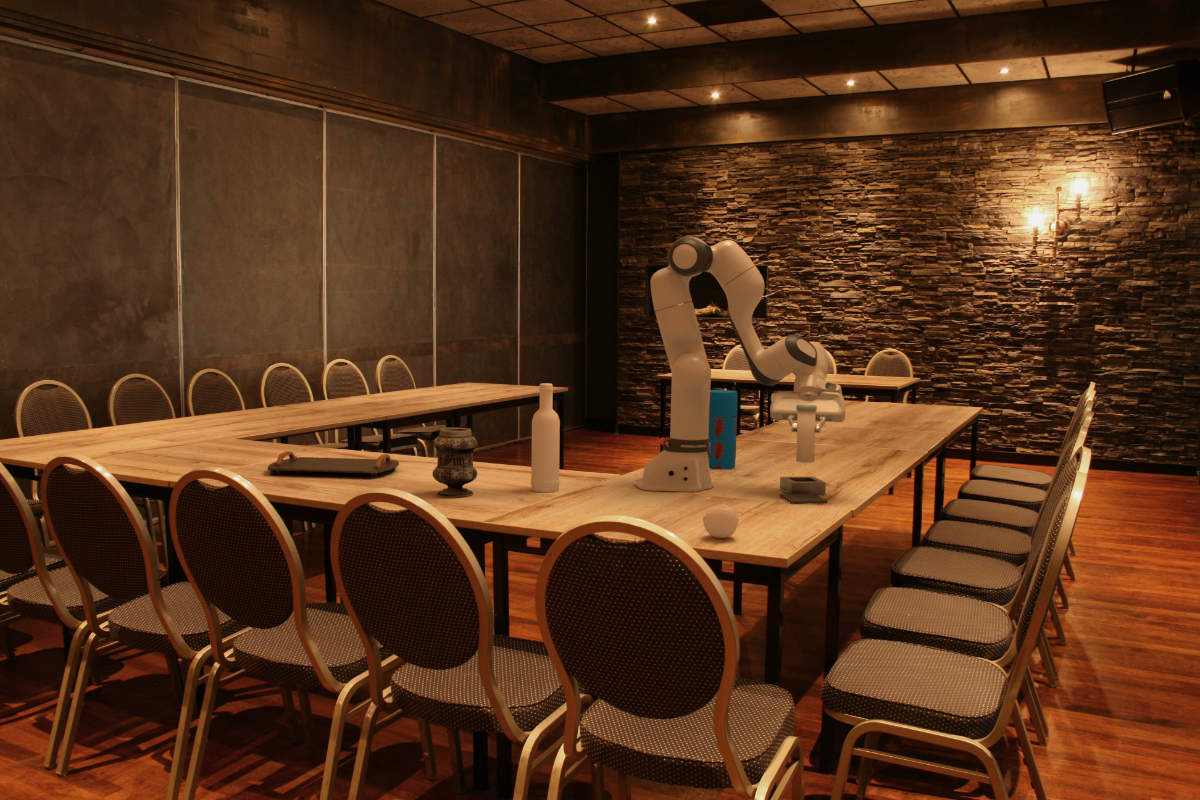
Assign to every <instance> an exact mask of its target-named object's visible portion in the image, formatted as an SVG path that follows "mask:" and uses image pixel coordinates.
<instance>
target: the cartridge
mask: <svg viewBox="0 0 1200 800" xmlns="http://www.w3.org/2000/svg"><path fill="white" fill-rule="evenodd" d="M796 410H797V421H796V423H797V432H796V457H795V458H796V462H798V463H815V447H816V433H815V424H816V421H815V414H816V410H817V406H816V405H796Z"/></svg>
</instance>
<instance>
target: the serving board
mask: <svg viewBox="0 0 1200 800" xmlns="http://www.w3.org/2000/svg"><path fill="white" fill-rule="evenodd" d="M286 457H288V458H286ZM284 458H285V459H284ZM399 465H400V463H399V460H396V459H393V458H391V456H390V454H389V453H384V454H380V455H379V456H378V457H377V459H375V458H355V457H353V458H350V457H349V458H347V457H316V456H315V457H313V456H312V457H310V456H296V455H295V453H294V452H293V451H288V450H287V451H283V452H281V453H280V454H279V455H278V457H277V460H276V461H274V462H272V463H271V464H270V463H269V464H268V466H267V471H269V475H270V476H272V477H273V476H278V471H280V472H281V471H283V472H284V471H285V472H286V471H287V472H310V473H311V472H314V473H315V472H317V473H320V472H321V473H346V474H347V473H351V474H354V473H355V474H370V476H369V478H370V479H374V480H377V479H378V477H379V476H378V474H379V473H384V472H387V471H391V470H395V469H396V468H397V467H399Z"/></svg>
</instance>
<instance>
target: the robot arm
mask: <svg viewBox="0 0 1200 800" xmlns="http://www.w3.org/2000/svg"><path fill="white" fill-rule="evenodd" d="M667 261H668V266H666V267H664V268H661V269H659V270H657V271H656V272H654V273H653V275H651V278H650V290H651V291H650V292H651V298H652V305H653V309H654V313H655V316H656V320H657V324H658V327H659V331H660V335H661V339H662V342H663V346H664V351H665V354H666V357H667V361H668V363H669V367H670V371H671V392H670V393H671V395H670V397H671V398H670V431H669V433H670V434H669V435H670V436H669V437H668V438H665V437H661V438H660V439H659V444H660V445H662V446H663V447H662V449H663V450H662V451H660V452H659V453H658V454H656V455H655V456H654V457H652V458H651V459H650V460H648V461H647V462H646V463H645V465H644V468H643V472H642V473H643V474H642V478H638V479H636V480H635V482H634V485H635V486H636V487H637V488H638V489H640V490H643V491H651V492H652V491H655V492H659V491H660V492H661V491H662V492H690V493H691V492H693V493H694V492H695V493H696V492H701V491H703V490H708V489H711V488H713V487H714V486H713V485H714V484H713V482H712V478H711V477H712V476H711V469H709V455H710V439H709V438H708V435H709V405H710V390H711V382H712V368H711V366H710V364H709V362H708V361H709V360H708V357H707V354H706V350H705V347H704V346H705V345H704V341H703V337H702V332H701V329H700V326H699V322H698V317H697V314H696V310H695V307H694V303H693V300H692V295H691V292H690V281H691V280H692V279H694V278H696V277H698V276H699V275H701V274H702V273H705V272H707V273H710V274H711V275H712V276H713V277H714V278H715V279H716V280H717V282H718V283H719V285H720V286H721V288H722V290H723V292H724V294H725V296H726V299H727V305H728V307H727V309H726V311H727V312H726V314H727V317H728V320H729V322H730V325H731V327H732V329H733V331H734V334H735V336H736V338H737V340H738V342H739V344H740V346H741V349H742V351H743V353H744V355H745V358H746V359H747V362H748V363H747V364H748V366H749V367H748V368H749V369H750V372H751V374H752V377H753V378H754V380H755V381H756V382H758V383H760V384H762V385H764V386H767V387H772V386H773V387H774V386H775V385H777V384H778V383H779V382H781V381H782V380H783V379H784V378H786V377H788V376H789V375H791V374H793V375H794V376H795V379H794V383H793V390H777V391H776V392H773V393H771V396H770V402H771V403H770V409H769V413H770V414H769V415H770V418H771V419H773V421H774V420H775V421H788V424H789V425H790V427H791V429H790V430H791V432H792V433H797V410H796V405H816V406H817V410H816V414H815V422H818V423H815V434H816V433H817V434H820V433H821V430H822V428H823V427H824V426H825V425H826V422H827V423H843V422H844V421H845V420H846V403H845V398H844V395H843V391H842V386H841V385H840V384H837V383H833V382H831V381H827V376H828V370H829V369H828V368H829V366H828V365H829V364H828V363H829V361H828V359H829V358H828V355H827V350H826V348H825V347H824V346H823V345H822V344H820V342H819V343H818V342H816V341H809V340H807V339H806V338H804V337H802V336H800V335H798V334H794V333H793V334H791V333H790V334H788V335H787V336H784V337H783V338H781V339H779V340H778V341H776V342H775V343H773V344H772V345H770V346H768V347H767V348H764V347H763V344H762V343H761V340H760V339H759V336H758V334H757V332H756V329H755V327H754V325H753V322H752V321H753V314H754V311H755V309H756V308H757V306H758V305H759V303H760V302H761V300H762V298H763V295H764V293H765V281H764V278H763V275H762V274H761V272H760V270H759V269H758V267H757V266H756V265H755V264H754V262H753V261H752V259H751V257H750V256H749V255H748V253H746V252H745V251H744V249H743V248H742V247H741V246H740V245H739V244H738V243H737V242H735V241H734V240H731V239H727V240H721V241H719V242H717V243H715V244H714V245H708V243H707V242H706V241H704V239H701V238H699V237H695V236H684V237H681V238H678V239H676V240H675V241H674V242H672V244H671V245H670V247H669V248H668V253H667ZM795 422H796V423H795Z"/></svg>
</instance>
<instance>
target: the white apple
mask: <svg viewBox="0 0 1200 800" xmlns="http://www.w3.org/2000/svg"><path fill="white" fill-rule="evenodd" d="M702 524H703V527H704V529H705V531H706V532H707V533H708V534H709V535H710V536H712V537H713V538H716V539H727V538H730V537H731V536H733V534H734V533H735V531H736V530H737V528H738V524H739V515H738V513H737V510H736V509H735V508H734V507H733V506H728V505H726V504H716V505H715V506H714V507H712V508H710V509H709V510H707V512H705V515H704V516H703V517H702Z"/></svg>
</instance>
